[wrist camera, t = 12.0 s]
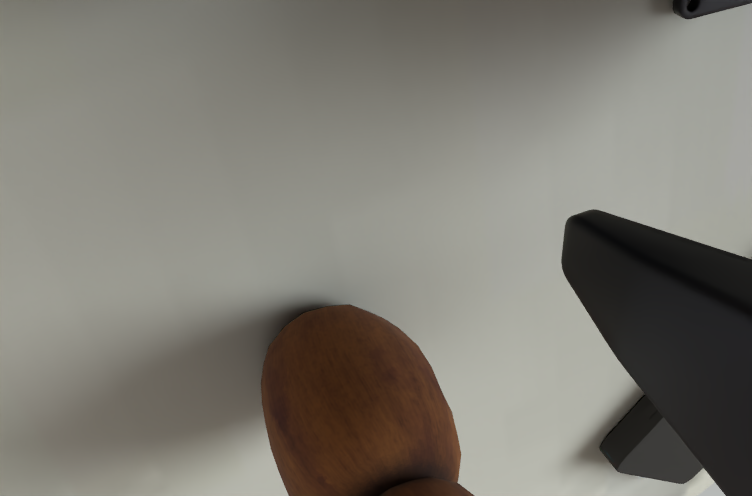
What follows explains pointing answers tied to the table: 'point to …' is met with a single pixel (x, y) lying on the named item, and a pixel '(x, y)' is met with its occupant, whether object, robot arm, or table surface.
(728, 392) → the robot arm
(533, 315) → the table surface
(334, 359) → the wooden figurine
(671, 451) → the smart home device
